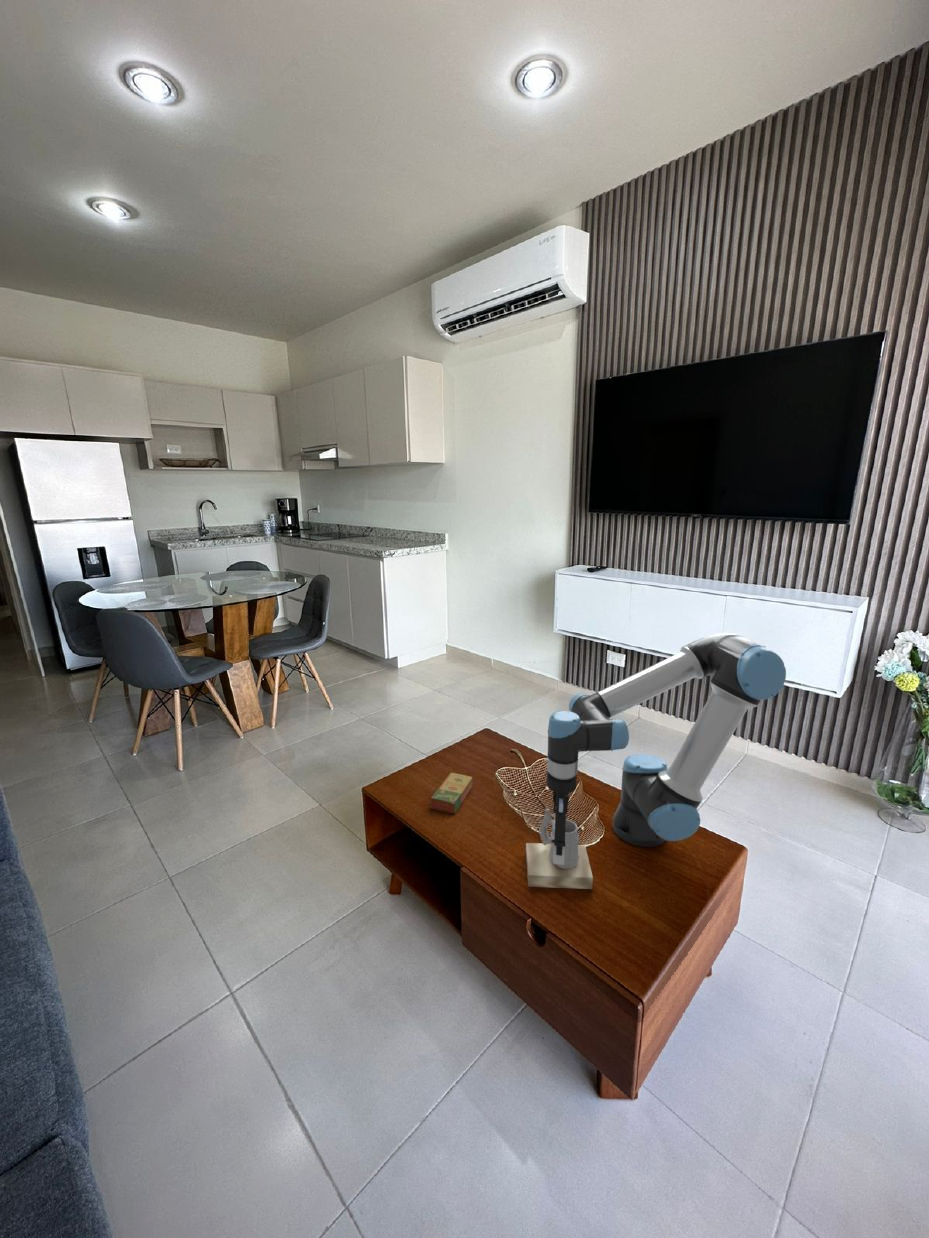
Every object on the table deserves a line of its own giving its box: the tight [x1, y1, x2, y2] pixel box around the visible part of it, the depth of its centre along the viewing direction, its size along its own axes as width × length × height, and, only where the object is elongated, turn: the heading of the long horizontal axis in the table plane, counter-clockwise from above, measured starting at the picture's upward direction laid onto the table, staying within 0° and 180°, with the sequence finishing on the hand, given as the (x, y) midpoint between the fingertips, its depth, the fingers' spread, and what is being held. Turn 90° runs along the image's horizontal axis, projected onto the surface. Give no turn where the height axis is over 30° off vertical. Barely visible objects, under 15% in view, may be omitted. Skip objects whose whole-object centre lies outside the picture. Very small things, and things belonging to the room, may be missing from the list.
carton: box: [430, 772, 474, 815], centre depth 166 cm, size 8×16×4 cm, turn 158°
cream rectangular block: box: [525, 842, 594, 890], centre depth 134 cm, size 16×12×4 cm
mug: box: [539, 808, 580, 869], centre depth 133 cm, size 8×12×12 cm, turn 43°
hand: (558, 844), depth 132 cm, fingers open, 13 cm apart
